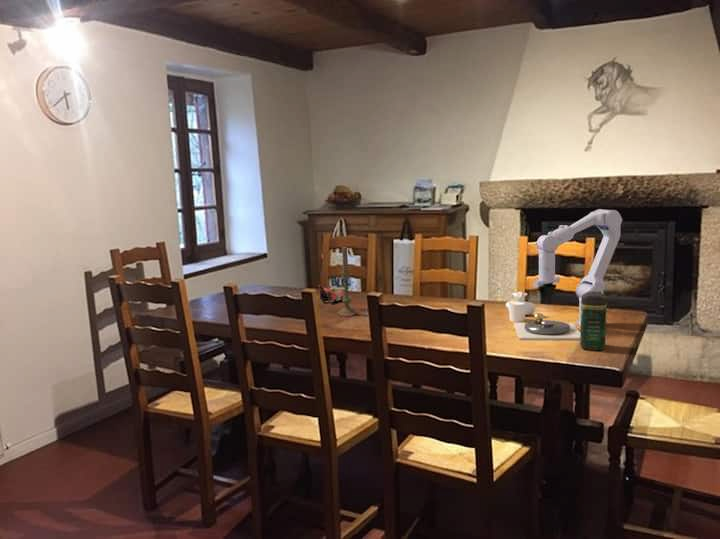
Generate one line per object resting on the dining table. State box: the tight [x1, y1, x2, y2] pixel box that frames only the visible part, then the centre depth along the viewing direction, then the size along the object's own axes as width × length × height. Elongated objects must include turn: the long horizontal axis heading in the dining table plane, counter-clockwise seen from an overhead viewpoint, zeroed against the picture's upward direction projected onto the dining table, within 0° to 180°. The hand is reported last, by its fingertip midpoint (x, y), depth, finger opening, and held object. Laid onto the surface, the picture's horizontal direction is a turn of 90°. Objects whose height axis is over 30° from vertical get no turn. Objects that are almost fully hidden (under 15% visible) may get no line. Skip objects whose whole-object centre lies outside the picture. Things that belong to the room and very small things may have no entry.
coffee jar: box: [579, 291, 607, 351], centre depth 205 cm, size 10×8×19 cm
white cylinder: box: [507, 301, 526, 323], centre depth 247 cm, size 7×7×7 cm
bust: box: [505, 290, 536, 316], centre depth 255 cm, size 12×8×11 cm
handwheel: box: [525, 312, 570, 334], centre depth 227 cm, size 16×16×4 cm
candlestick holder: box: [337, 246, 357, 315], centre depth 268 cm, size 9×9×30 cm
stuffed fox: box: [318, 285, 345, 303], centre depth 298 cm, size 8×11×12 cm
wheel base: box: [513, 322, 581, 341], centre depth 228 cm, size 22×22×1 cm
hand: (546, 303), depth 232 cm, fingers closed
